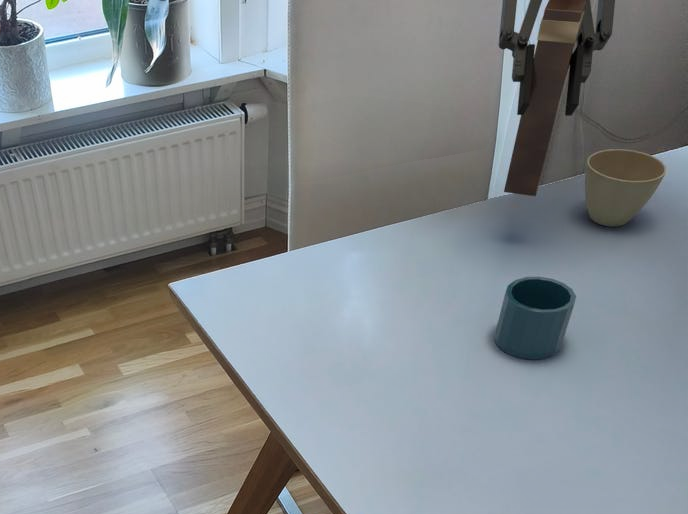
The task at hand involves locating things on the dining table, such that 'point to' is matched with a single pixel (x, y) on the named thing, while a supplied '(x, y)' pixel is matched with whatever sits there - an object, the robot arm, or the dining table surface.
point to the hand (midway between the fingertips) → (547, 109)
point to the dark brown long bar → (544, 94)
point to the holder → (534, 317)
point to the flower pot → (620, 184)
